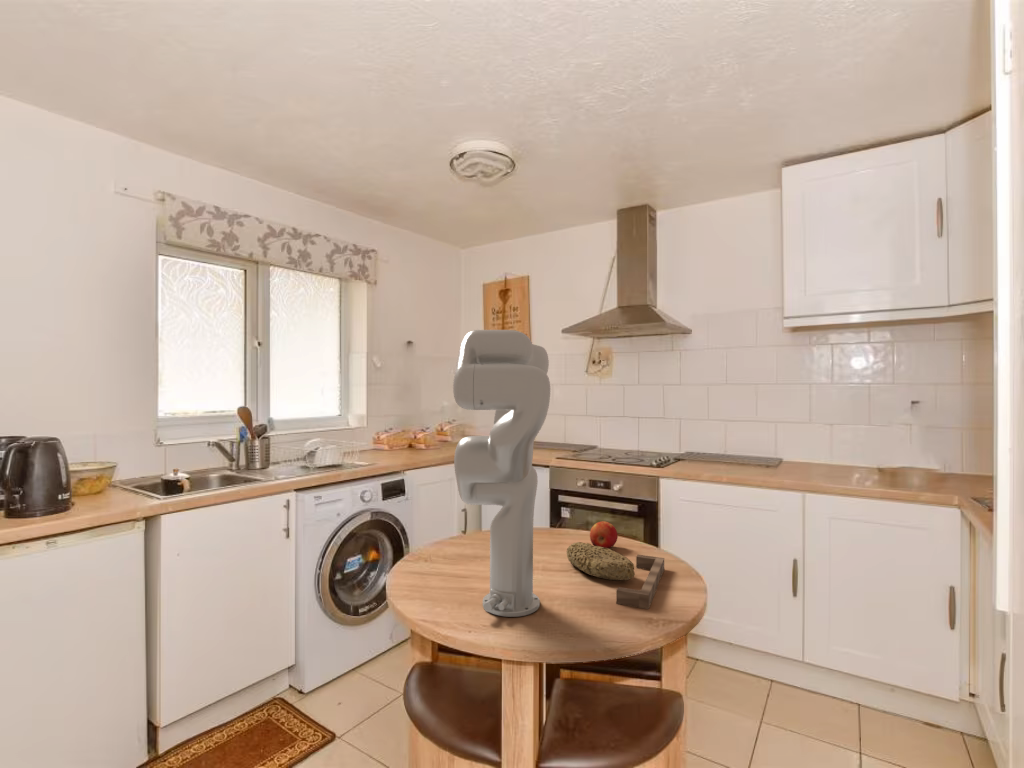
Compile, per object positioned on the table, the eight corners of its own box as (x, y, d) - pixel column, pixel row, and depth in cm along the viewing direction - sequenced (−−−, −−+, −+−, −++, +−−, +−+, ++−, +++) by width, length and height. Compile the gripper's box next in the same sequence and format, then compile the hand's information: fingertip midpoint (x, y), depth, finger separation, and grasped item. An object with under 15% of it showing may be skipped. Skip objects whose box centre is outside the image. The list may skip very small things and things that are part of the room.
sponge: (561, 568, 139) (590, 579, 120) (564, 539, 141) (593, 545, 122) (605, 574, 142) (640, 585, 123) (607, 545, 144) (642, 551, 125)
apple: (620, 547, 154) (620, 521, 154) (610, 555, 147) (610, 527, 147) (596, 543, 158) (596, 517, 158) (585, 550, 151) (585, 523, 151)
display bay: (648, 609, 110) (648, 595, 110) (616, 603, 113) (616, 590, 113) (664, 569, 135) (664, 558, 135) (637, 565, 138) (637, 554, 138)
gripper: (544, 400, 135) (544, 469, 135) (494, 399, 142) (494, 466, 141) (532, 400, 128) (532, 473, 128) (481, 400, 135) (480, 469, 134)
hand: (512, 469), depth 135 cm, fingers closed
